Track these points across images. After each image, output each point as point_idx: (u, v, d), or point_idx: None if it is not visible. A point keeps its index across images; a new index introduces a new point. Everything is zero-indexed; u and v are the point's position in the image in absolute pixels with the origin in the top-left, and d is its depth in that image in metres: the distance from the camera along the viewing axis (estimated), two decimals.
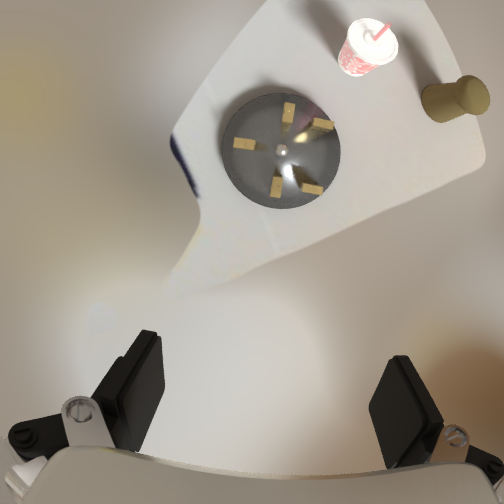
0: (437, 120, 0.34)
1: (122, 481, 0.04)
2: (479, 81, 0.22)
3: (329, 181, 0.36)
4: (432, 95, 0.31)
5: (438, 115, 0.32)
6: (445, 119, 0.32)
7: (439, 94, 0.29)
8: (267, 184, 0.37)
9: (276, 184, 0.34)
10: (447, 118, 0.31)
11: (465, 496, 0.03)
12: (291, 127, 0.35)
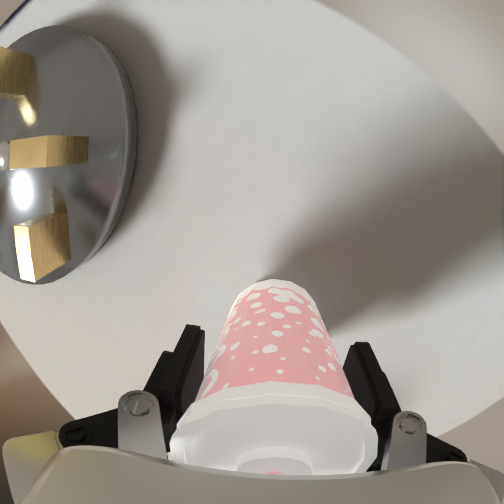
0: None
1: (122, 481, 0.04)
2: None
3: None
4: None
5: None
6: None
7: None
8: None
9: None
10: None
11: (465, 496, 0.03)
12: (48, 166, 0.12)
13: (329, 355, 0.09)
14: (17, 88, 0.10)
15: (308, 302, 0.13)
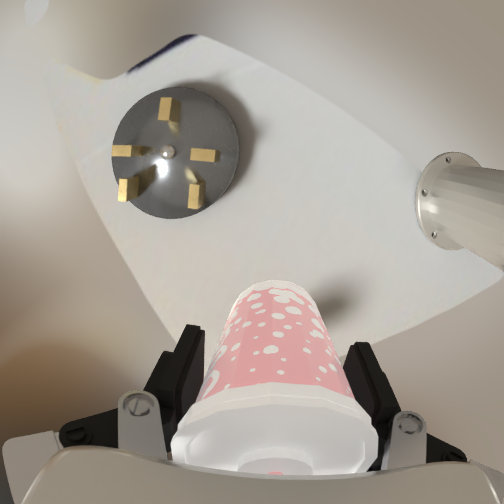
0: None
1: (122, 481, 0.04)
2: None
3: (142, 208, 0.33)
4: None
5: None
6: None
7: None
8: (133, 140, 0.30)
9: (123, 150, 0.28)
10: None
11: (465, 496, 0.03)
12: (196, 160, 0.30)
13: (330, 356, 0.09)
14: (176, 119, 0.29)
15: (309, 303, 0.13)
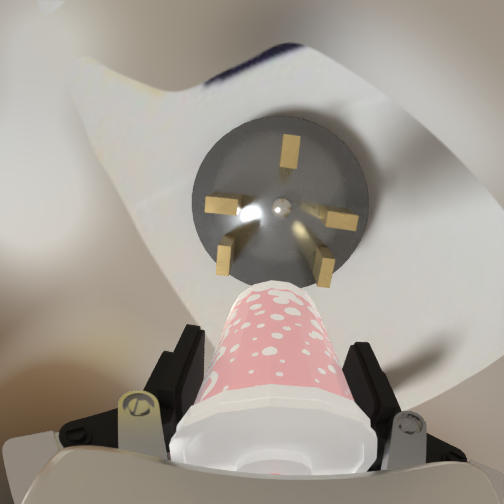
0: None
1: (122, 481, 0.04)
2: None
3: (240, 277, 0.26)
4: None
5: None
6: None
7: None
8: (226, 186, 0.24)
9: (224, 205, 0.22)
10: None
11: (465, 496, 0.03)
12: (317, 220, 0.24)
13: (329, 357, 0.09)
14: None
15: (308, 304, 0.13)
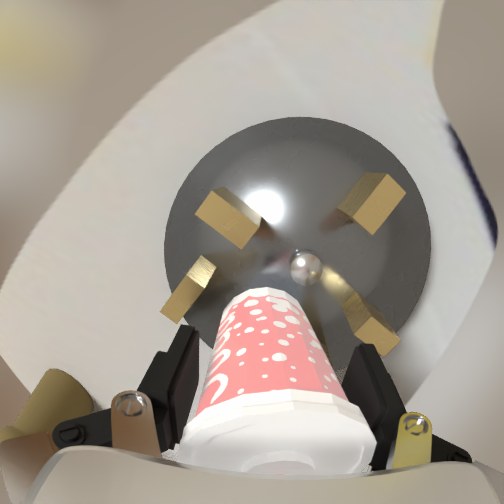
0: (55, 372, 0.21)
1: (122, 481, 0.04)
2: None
3: (190, 320, 0.17)
4: (73, 414, 0.19)
5: (53, 387, 0.20)
6: (44, 383, 0.20)
7: None
8: (247, 190, 0.15)
9: (232, 224, 0.12)
10: (41, 387, 0.19)
11: (465, 496, 0.03)
12: (337, 307, 0.16)
13: (330, 366, 0.10)
14: None
15: (303, 313, 0.14)
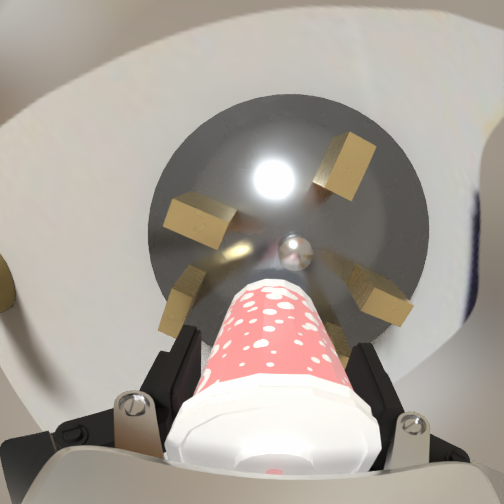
0: None
1: (122, 481, 0.04)
2: None
3: None
4: None
5: None
6: None
7: None
8: (215, 188, 0.14)
9: (201, 226, 0.11)
10: None
11: (465, 496, 0.03)
12: (341, 284, 0.15)
13: (324, 347, 0.09)
14: None
15: (302, 298, 0.13)
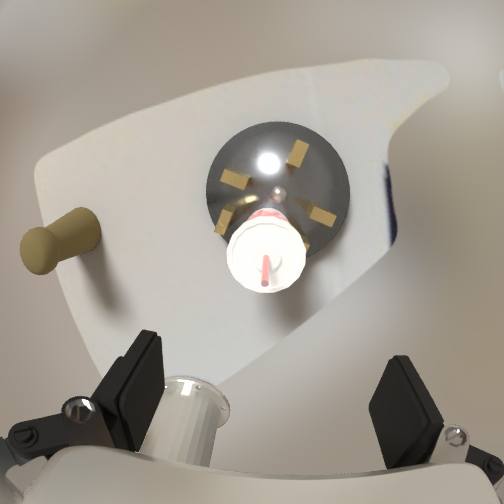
0: (85, 210, 0.33)
1: (122, 481, 0.04)
2: (30, 269, 0.25)
3: None
4: (87, 241, 0.32)
5: (82, 217, 0.32)
6: (75, 212, 0.32)
7: (79, 244, 0.31)
8: (240, 166, 0.29)
9: (237, 180, 0.27)
10: (72, 214, 0.31)
11: (465, 496, 0.03)
12: (303, 212, 0.31)
13: (284, 220, 0.25)
14: None
15: (279, 213, 0.29)
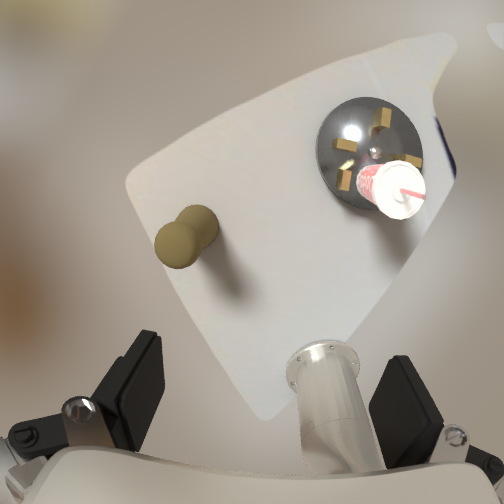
0: (198, 205, 0.39)
1: (122, 481, 0.04)
2: (173, 264, 0.31)
3: (346, 199, 0.36)
4: (212, 231, 0.38)
5: (201, 211, 0.38)
6: (191, 209, 0.38)
7: (208, 234, 0.36)
8: (341, 136, 0.34)
9: (349, 144, 0.32)
10: (190, 210, 0.37)
11: (465, 496, 0.03)
12: None
13: None
14: (383, 127, 0.32)
15: None
